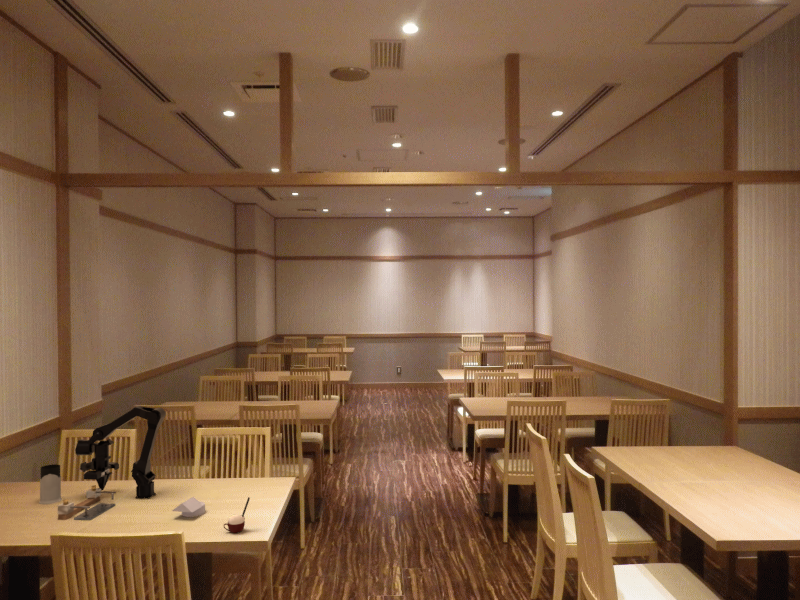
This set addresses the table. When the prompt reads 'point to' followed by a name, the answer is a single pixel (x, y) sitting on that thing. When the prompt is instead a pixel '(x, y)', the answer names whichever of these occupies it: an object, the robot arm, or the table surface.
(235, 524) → the cocoa
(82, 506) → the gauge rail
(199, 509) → the wedge on round base
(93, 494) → the carriage
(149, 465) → the robot arm
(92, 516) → the flange plate
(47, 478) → the glass holder
